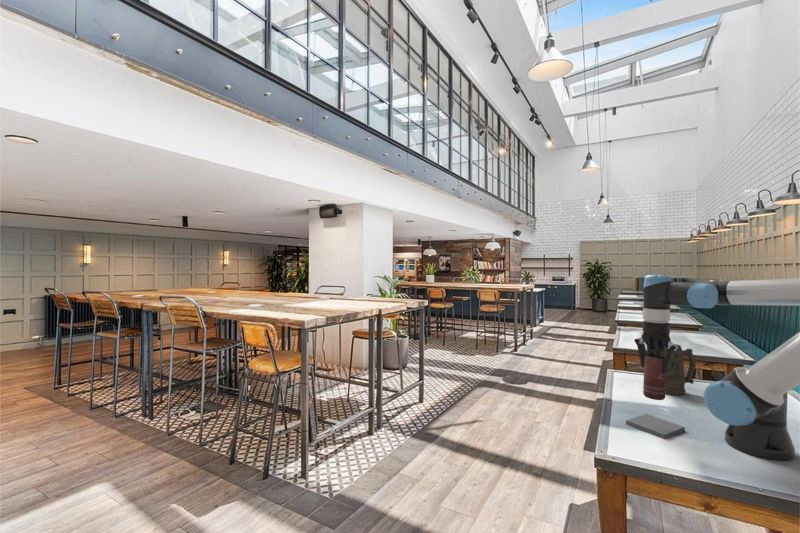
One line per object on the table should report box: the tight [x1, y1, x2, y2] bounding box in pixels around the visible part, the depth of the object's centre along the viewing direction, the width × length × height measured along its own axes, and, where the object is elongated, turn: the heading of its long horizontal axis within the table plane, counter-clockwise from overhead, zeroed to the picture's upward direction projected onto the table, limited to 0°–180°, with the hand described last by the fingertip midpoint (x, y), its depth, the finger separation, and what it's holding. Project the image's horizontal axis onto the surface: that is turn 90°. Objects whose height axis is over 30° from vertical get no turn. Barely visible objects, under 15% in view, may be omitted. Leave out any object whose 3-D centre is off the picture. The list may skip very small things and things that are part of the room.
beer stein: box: [655, 343, 697, 396], centre depth 159 cm, size 15×11×20 cm
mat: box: [625, 413, 686, 439], centre depth 125 cm, size 12×12×1 cm
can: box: [642, 353, 666, 401], centre depth 125 cm, size 6×6×14 cm
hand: (654, 391), depth 125 cm, fingers closed
